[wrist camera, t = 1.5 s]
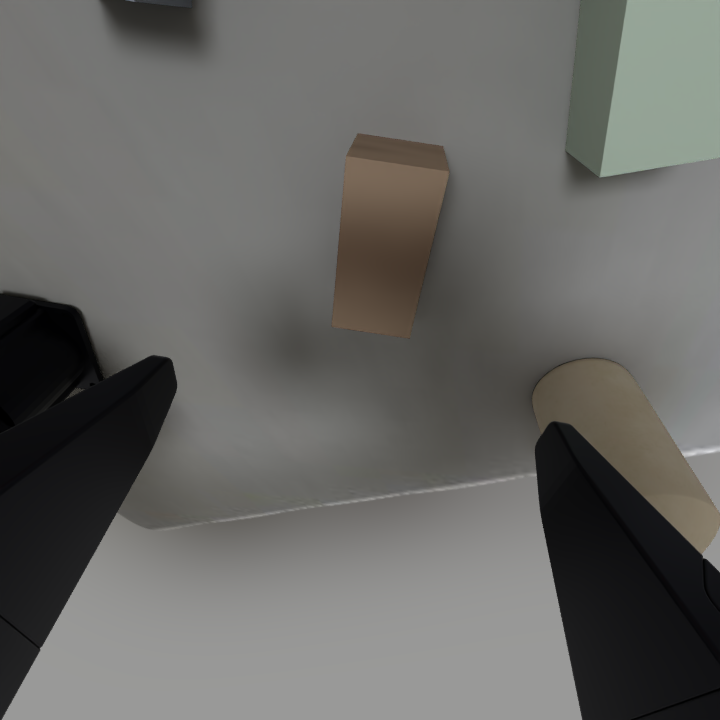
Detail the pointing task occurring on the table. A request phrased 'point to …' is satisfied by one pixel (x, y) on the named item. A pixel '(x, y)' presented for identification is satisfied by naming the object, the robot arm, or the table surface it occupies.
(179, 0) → the charcoal block
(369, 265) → the walnut block
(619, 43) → the sage block
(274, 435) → the table surface
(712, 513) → the candle
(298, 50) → the table surface
